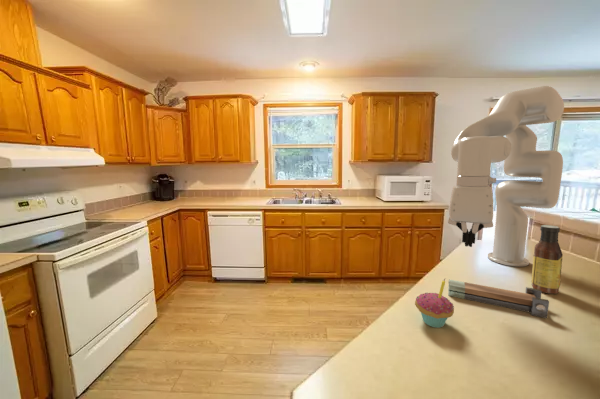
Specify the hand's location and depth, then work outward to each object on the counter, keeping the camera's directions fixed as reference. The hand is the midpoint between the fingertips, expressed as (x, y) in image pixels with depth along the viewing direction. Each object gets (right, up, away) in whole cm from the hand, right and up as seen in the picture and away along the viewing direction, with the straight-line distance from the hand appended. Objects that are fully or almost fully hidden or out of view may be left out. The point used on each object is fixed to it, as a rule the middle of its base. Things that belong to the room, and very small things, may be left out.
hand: (468, 245), depth 73 cm
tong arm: (+5, -14, -1) cm, 15 cm away
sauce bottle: (+26, -15, +4) cm, 30 cm away
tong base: (+7, -16, -2) cm, 17 cm away
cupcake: (-15, -18, -10) cm, 25 cm away
